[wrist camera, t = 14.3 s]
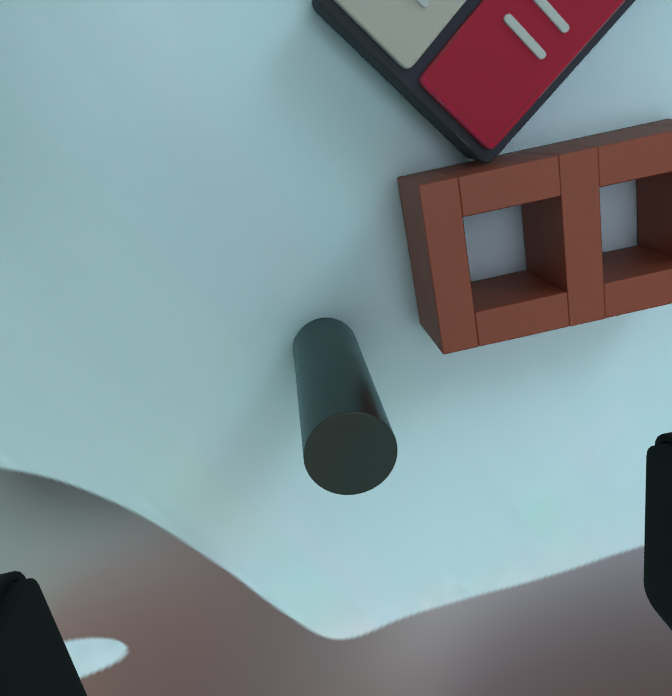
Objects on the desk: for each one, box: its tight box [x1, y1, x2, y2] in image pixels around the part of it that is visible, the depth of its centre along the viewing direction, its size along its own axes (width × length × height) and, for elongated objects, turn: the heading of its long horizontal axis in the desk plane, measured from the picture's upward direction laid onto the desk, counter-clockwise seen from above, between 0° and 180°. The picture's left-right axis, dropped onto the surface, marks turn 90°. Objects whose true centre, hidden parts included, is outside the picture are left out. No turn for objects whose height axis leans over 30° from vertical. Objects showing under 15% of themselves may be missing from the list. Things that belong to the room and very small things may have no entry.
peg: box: [293, 318, 397, 495], centre depth 29 cm, size 4×4×12 cm
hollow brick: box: [397, 119, 672, 354], centre depth 31 cm, size 15×8×5 cm, turn 101°
